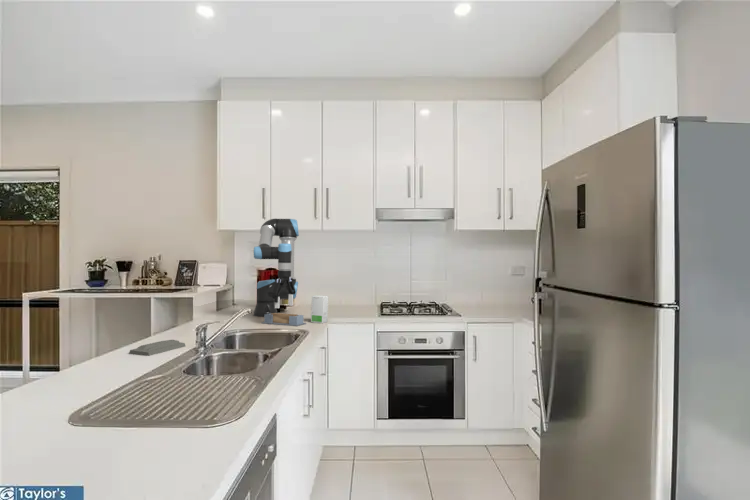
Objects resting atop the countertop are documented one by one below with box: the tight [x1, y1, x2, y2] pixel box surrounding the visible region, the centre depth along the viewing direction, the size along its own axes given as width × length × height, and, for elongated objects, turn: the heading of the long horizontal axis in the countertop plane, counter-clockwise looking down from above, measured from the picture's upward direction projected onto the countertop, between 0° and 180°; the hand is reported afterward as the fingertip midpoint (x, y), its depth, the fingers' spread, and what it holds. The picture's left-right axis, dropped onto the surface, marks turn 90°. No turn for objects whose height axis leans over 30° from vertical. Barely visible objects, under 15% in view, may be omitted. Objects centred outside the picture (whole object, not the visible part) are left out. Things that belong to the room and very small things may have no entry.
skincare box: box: [310, 295, 329, 324], centre depth 266 cm, size 8×7×16 cm
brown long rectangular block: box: [271, 312, 299, 324], centre depth 258 cm, size 4×16×5 cm, turn 67°
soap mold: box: [128, 339, 186, 357], centre depth 181 cm, size 10×20×4 cm, turn 161°
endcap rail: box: [261, 313, 307, 327], centre depth 258 cm, size 10×24×5 cm, turn 67°
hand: (284, 306), depth 259 cm, fingers open, 13 cm apart
